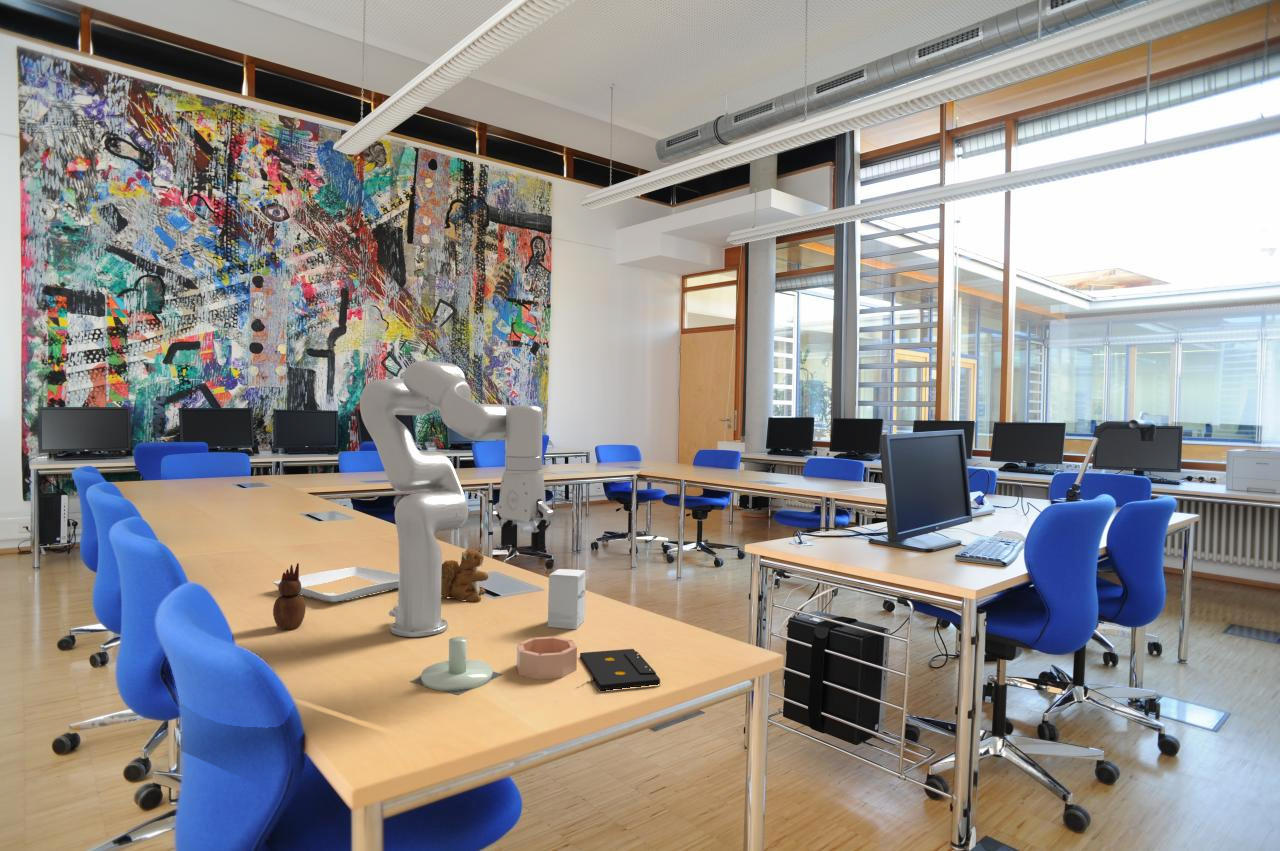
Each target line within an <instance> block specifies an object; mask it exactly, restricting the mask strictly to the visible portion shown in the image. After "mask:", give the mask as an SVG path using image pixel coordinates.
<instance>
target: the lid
mask: <svg viewBox="0 0 1280 851" xmlns="http://www.w3.org/2000/svg"><path fill="white" fill-rule="evenodd" d="M467 641H468V640H467V637H464V636H455V637H451V638H449V640H448V660H446V661H445V660H444V661H441V662H436V663H433V664H430V665H429V666H427V667H425V668H424V669H423V670H422V671H421V673H420V677H421V683H422V684H423V685H424V686H423V685H422V686H423V687H426V688H427V689H431V690H435V691H440V692H445V691H460V690H467V689H471V690H473V689H475V688H480V687H482V686H484V685H486V684H488V683H489V682H490V681H492V680H493V679H492V677H493V672H494V671H493V666H492V665H491V664H489V663H487V662H485V661H481V660H474V659H467V646H468V645H467ZM491 679H492V680H491ZM472 688H473V689H472Z"/></svg>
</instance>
